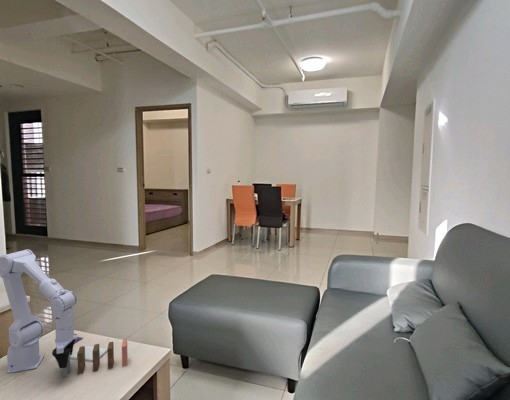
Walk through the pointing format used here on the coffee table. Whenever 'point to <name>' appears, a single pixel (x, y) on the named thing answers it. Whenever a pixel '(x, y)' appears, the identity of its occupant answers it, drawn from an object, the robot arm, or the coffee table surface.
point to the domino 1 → (66, 370)
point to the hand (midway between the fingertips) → (65, 361)
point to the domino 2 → (81, 360)
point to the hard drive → (88, 353)
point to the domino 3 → (96, 357)
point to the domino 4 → (110, 355)
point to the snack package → (75, 341)
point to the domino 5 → (124, 353)
